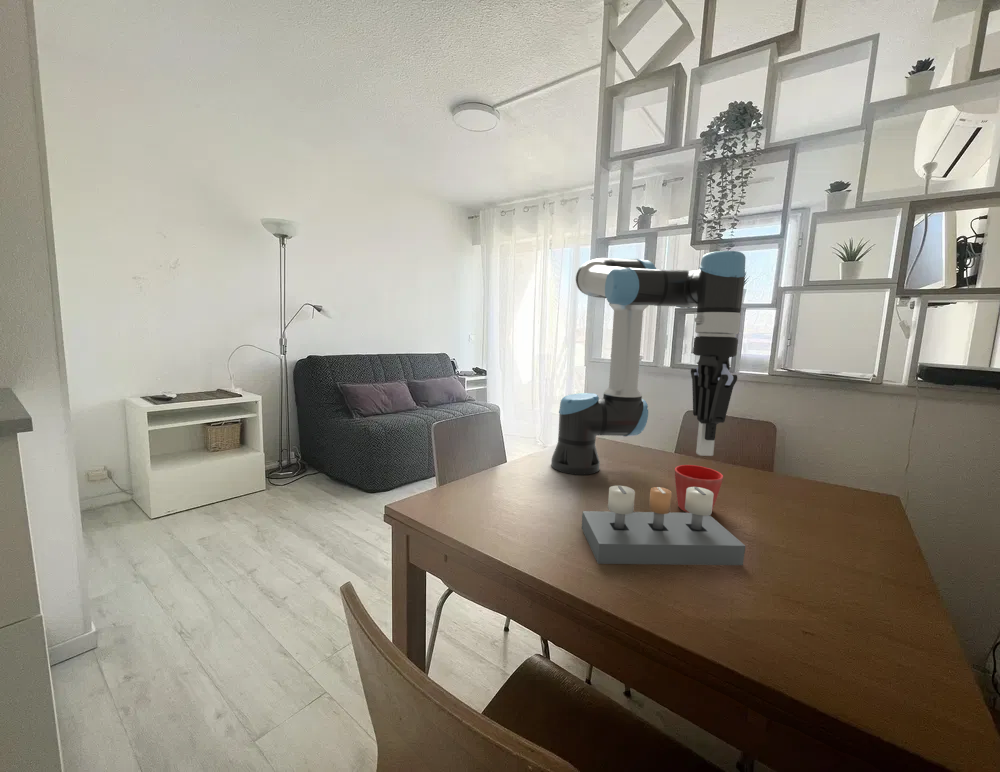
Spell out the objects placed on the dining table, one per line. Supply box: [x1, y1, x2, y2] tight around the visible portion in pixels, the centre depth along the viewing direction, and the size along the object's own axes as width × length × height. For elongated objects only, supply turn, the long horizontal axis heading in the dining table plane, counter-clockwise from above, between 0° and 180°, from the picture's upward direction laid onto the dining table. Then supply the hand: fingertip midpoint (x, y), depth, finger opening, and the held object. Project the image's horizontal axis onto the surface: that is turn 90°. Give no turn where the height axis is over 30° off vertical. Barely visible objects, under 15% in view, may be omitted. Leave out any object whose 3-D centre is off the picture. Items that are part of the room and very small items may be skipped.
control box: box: [581, 510, 746, 566], centre depth 86 cm, size 14×28×4 cm, turn 92°
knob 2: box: [685, 487, 714, 530], centre depth 86 cm, size 5×5×8 cm
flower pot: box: [674, 464, 724, 513], centre depth 104 cm, size 11×11×10 cm
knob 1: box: [607, 485, 636, 529], centre depth 85 cm, size 5×5×8 cm
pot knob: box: [648, 486, 673, 529], centre depth 86 cm, size 4×4×8 cm
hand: (704, 454), depth 84 cm, fingers closed
